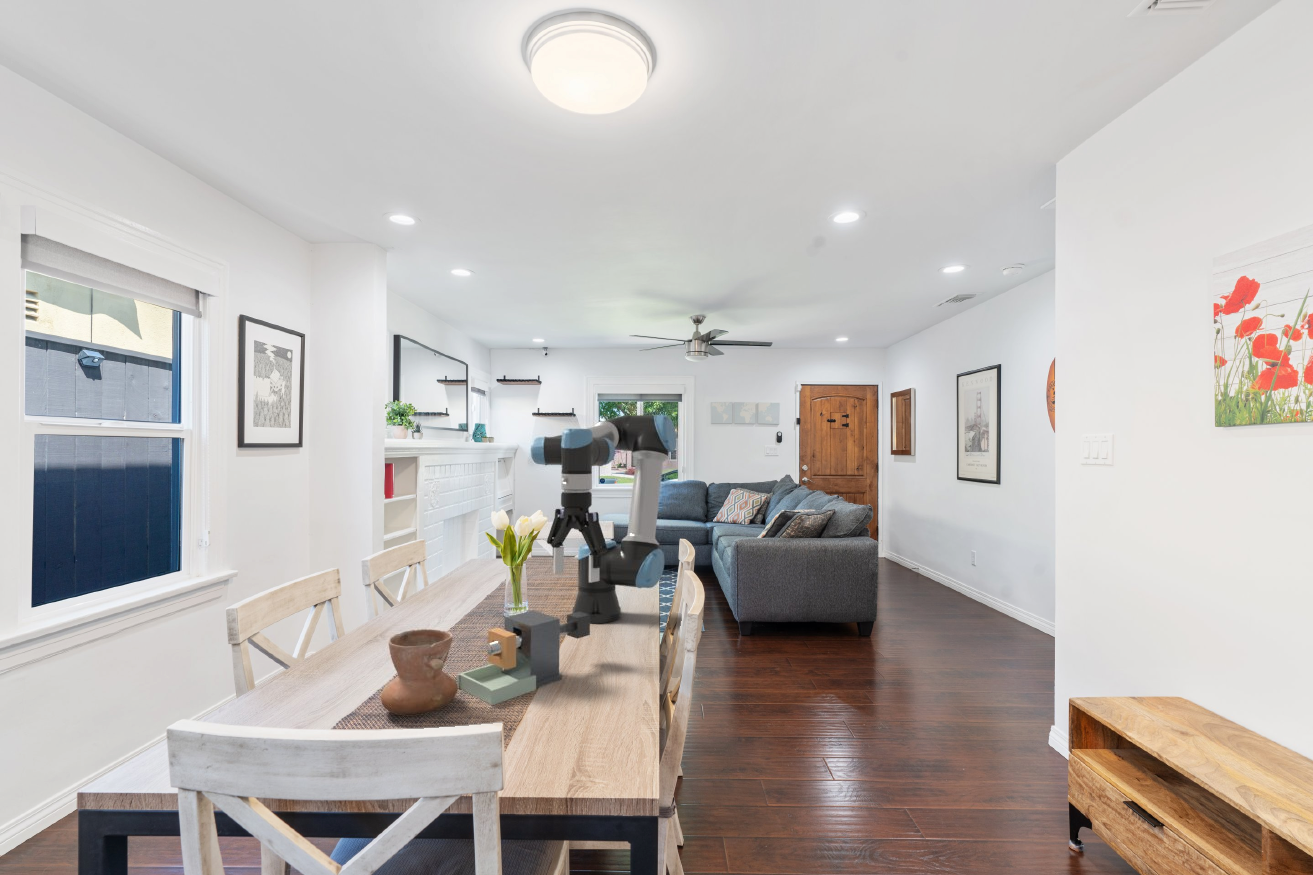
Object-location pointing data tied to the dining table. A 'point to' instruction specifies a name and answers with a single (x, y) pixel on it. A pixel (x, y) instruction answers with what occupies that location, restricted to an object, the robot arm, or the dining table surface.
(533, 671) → the bearing block
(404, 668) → the ceramic jug
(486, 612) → the dining table surface
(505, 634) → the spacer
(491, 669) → the tray
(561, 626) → the shaft
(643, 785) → the dining table surface
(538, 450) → the robot arm
